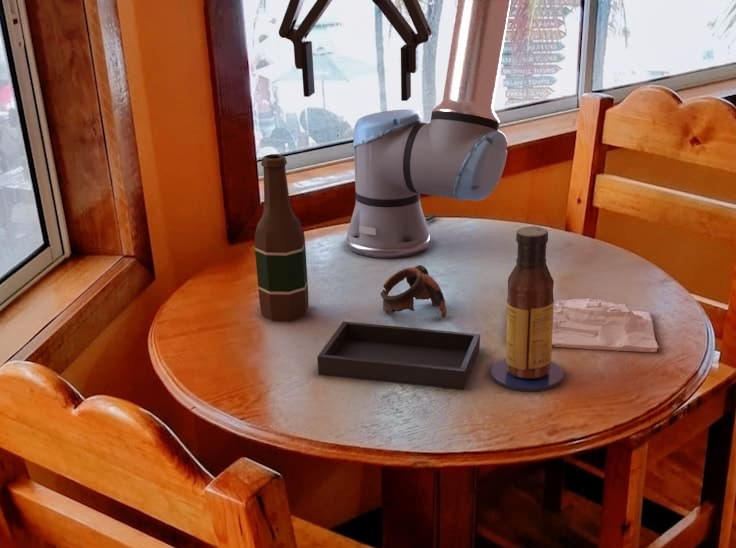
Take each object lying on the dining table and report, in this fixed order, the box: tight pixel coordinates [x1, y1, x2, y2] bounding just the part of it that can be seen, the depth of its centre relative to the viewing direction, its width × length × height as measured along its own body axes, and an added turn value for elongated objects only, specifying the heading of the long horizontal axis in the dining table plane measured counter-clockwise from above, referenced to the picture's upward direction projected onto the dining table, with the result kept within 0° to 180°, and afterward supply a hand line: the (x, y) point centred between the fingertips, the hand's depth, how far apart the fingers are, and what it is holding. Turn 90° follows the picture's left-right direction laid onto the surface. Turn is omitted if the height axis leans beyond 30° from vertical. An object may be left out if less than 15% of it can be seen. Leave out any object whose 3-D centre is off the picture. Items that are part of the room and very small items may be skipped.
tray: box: [316, 320, 481, 391], centre depth 139 cm, size 13×21×3 cm, turn 77°
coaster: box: [490, 358, 564, 393], centre depth 136 cm, size 10×10×1 cm
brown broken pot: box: [380, 264, 448, 319], centre depth 154 cm, size 12×10×8 cm
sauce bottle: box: [505, 225, 555, 379], centre depth 130 cm, size 6×6×20 cm
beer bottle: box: [254, 153, 309, 322], centre depth 148 cm, size 8×8×24 cm
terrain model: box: [552, 297, 660, 353], centre depth 148 cm, size 17×23×5 cm
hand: (357, 96), depth 133 cm, fingers open, 13 cm apart
